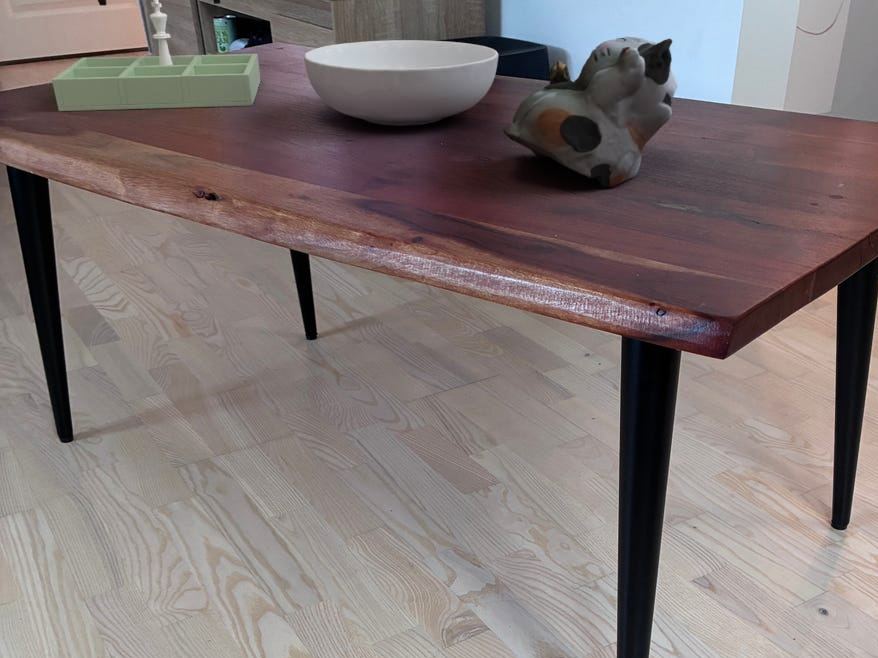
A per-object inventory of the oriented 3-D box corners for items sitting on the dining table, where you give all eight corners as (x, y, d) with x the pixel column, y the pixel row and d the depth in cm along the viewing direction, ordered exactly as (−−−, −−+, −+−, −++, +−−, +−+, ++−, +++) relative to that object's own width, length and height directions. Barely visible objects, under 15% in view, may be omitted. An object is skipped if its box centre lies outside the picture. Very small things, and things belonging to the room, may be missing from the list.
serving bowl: (534, 112, 105) (535, 48, 101) (416, 150, 90) (413, 76, 87) (394, 91, 116) (391, 32, 112) (268, 122, 101) (261, 55, 97)
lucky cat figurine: (523, 146, 91) (595, 10, 87) (628, 207, 90) (707, 72, 85) (480, 135, 77) (563, -28, 73) (604, 207, 76) (696, 45, 71)
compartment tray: (58, 111, 106) (51, 79, 104) (87, 86, 118) (81, 57, 117) (252, 105, 108) (248, 74, 107) (260, 82, 121) (257, 53, 119)
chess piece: (177, 79, 119) (164, -6, 114) (197, 84, 116) (184, -3, 111) (141, 84, 116) (126, -3, 111) (160, 89, 113) (146, 0, 108)
